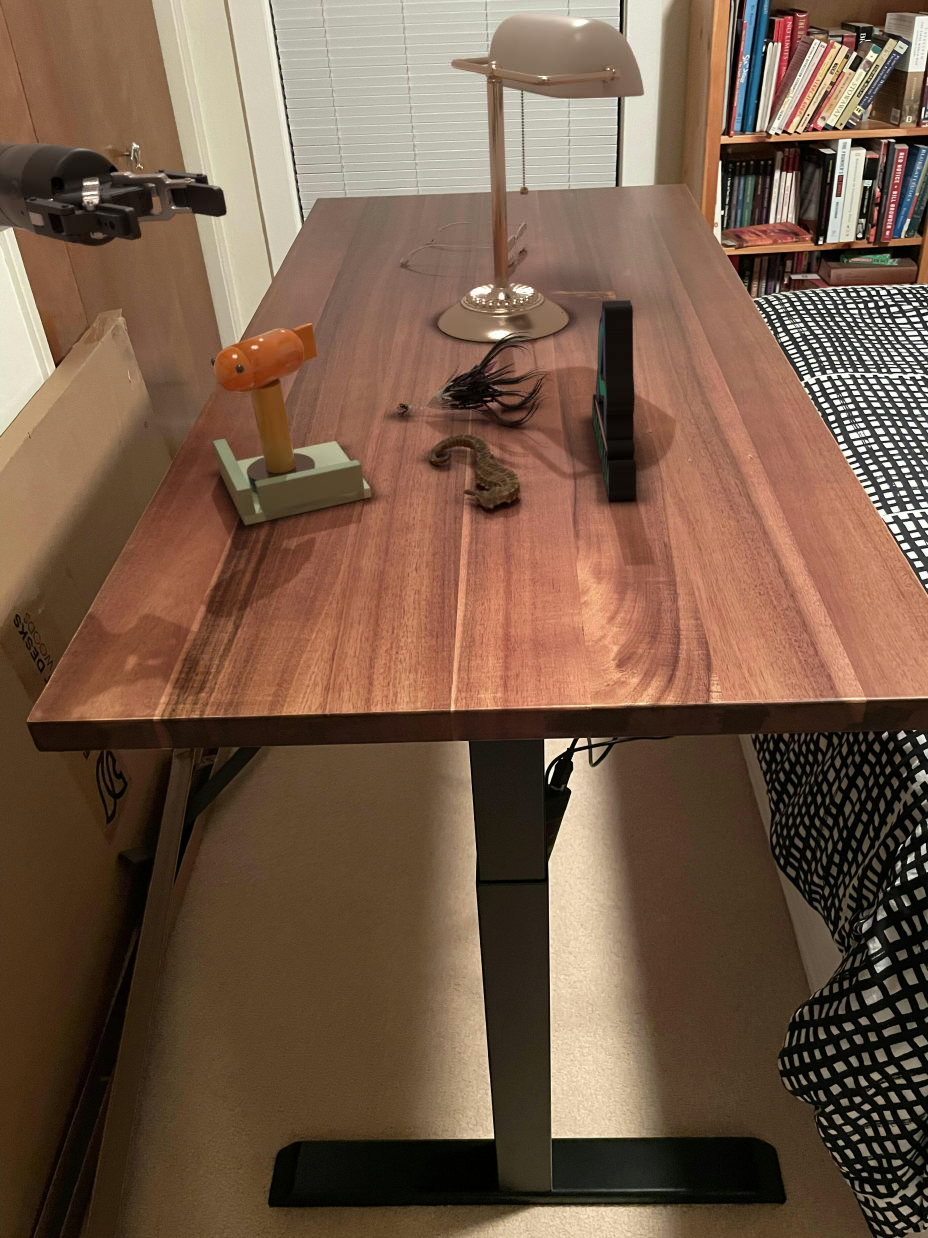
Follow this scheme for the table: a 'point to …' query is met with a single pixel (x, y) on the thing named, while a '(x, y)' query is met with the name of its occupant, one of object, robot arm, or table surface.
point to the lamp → (545, 65)
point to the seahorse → (482, 470)
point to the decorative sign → (615, 400)
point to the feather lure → (484, 387)
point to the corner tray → (293, 483)
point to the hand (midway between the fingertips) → (179, 213)
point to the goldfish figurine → (268, 393)
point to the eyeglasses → (510, 245)
